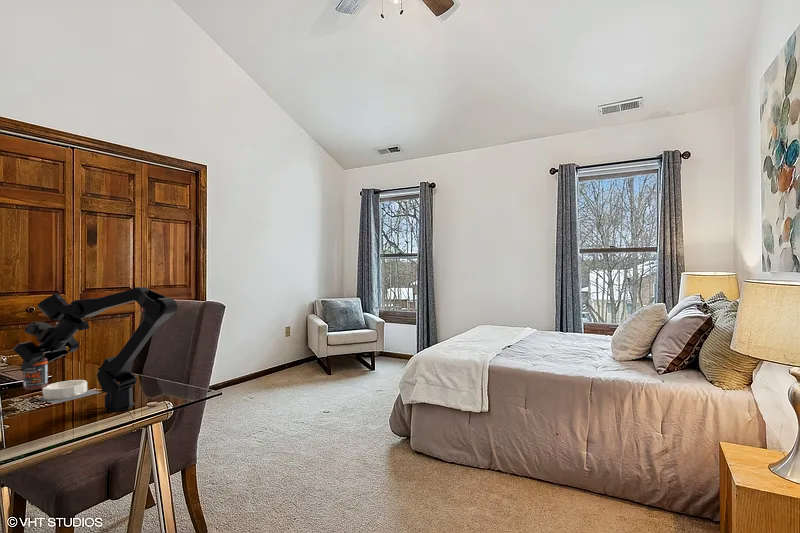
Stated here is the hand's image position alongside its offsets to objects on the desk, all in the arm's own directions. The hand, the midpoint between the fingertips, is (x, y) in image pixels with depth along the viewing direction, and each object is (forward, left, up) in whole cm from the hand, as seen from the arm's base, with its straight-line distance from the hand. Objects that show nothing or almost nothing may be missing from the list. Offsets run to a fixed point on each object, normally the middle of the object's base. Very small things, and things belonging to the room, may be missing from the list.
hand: (31, 366), depth 137 cm
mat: (-3, -14, -13) cm, 19 cm away
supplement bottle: (-1, 0, -7) cm, 7 cm away
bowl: (-3, -14, -13) cm, 19 cm away
